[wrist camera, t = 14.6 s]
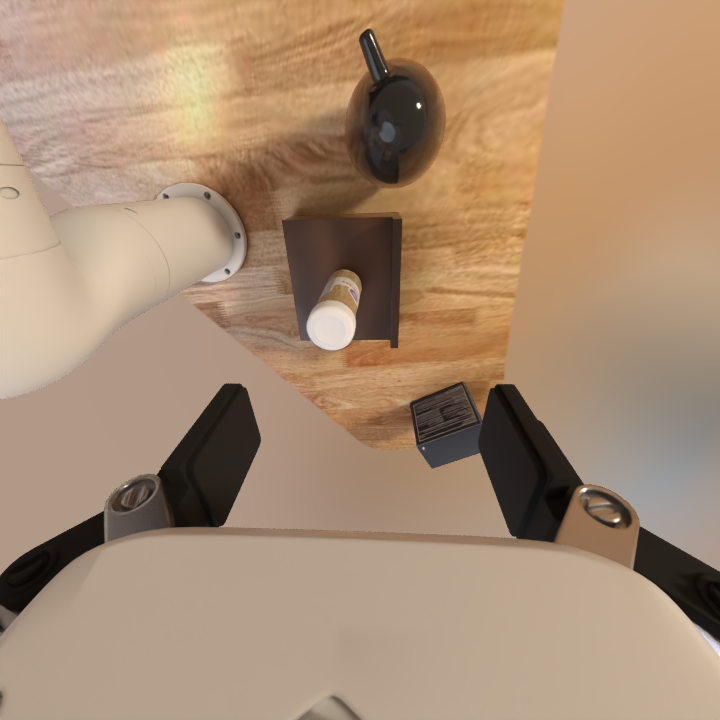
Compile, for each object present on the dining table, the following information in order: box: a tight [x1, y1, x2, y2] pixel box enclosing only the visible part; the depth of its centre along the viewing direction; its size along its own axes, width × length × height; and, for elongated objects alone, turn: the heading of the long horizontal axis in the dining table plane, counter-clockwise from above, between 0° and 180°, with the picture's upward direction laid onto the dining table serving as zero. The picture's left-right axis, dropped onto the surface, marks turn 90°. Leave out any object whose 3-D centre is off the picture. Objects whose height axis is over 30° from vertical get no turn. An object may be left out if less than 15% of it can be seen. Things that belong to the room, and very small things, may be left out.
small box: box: [410, 382, 482, 468], centre depth 50 cm, size 11×6×10 cm, turn 121°
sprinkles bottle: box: [307, 269, 362, 350], centre depth 33 cm, size 5×5×14 cm
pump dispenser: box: [345, 29, 446, 189], centre depth 28 cm, size 10×10×15 cm
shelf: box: [282, 212, 402, 348], centre depth 40 cm, size 14×16×8 cm
